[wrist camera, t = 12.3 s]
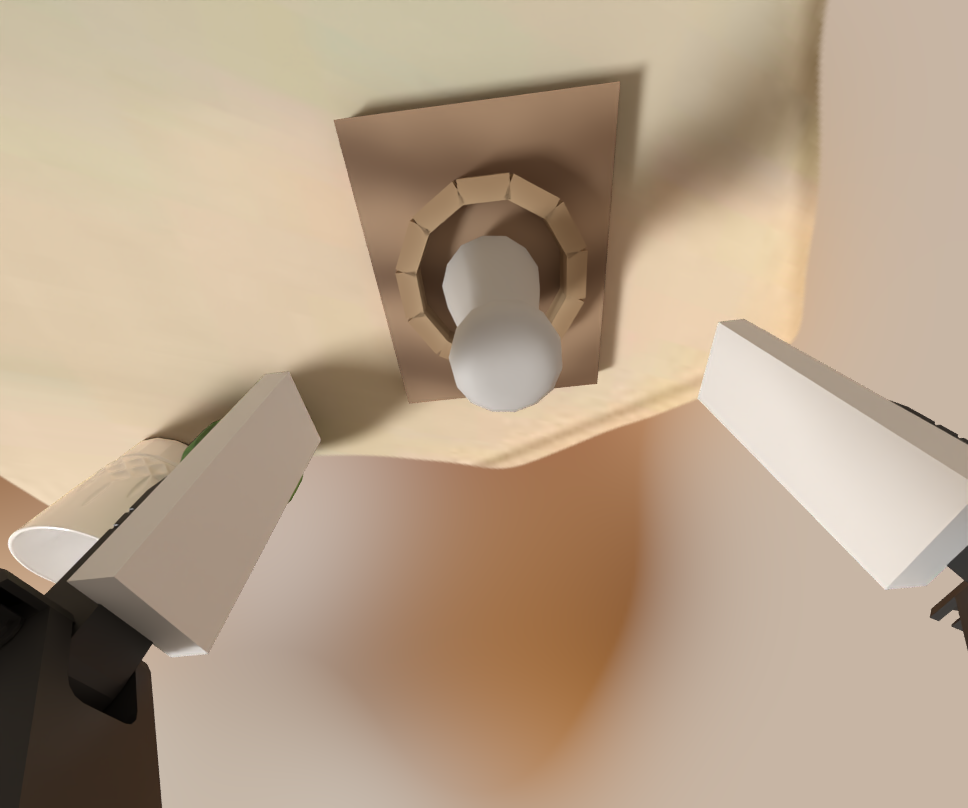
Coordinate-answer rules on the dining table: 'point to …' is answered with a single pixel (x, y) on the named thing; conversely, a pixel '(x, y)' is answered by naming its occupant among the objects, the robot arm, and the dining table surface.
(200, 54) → the dining table surface
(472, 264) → the salt shaker
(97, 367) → the dining table surface
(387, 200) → the cruet board
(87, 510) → the white cup
